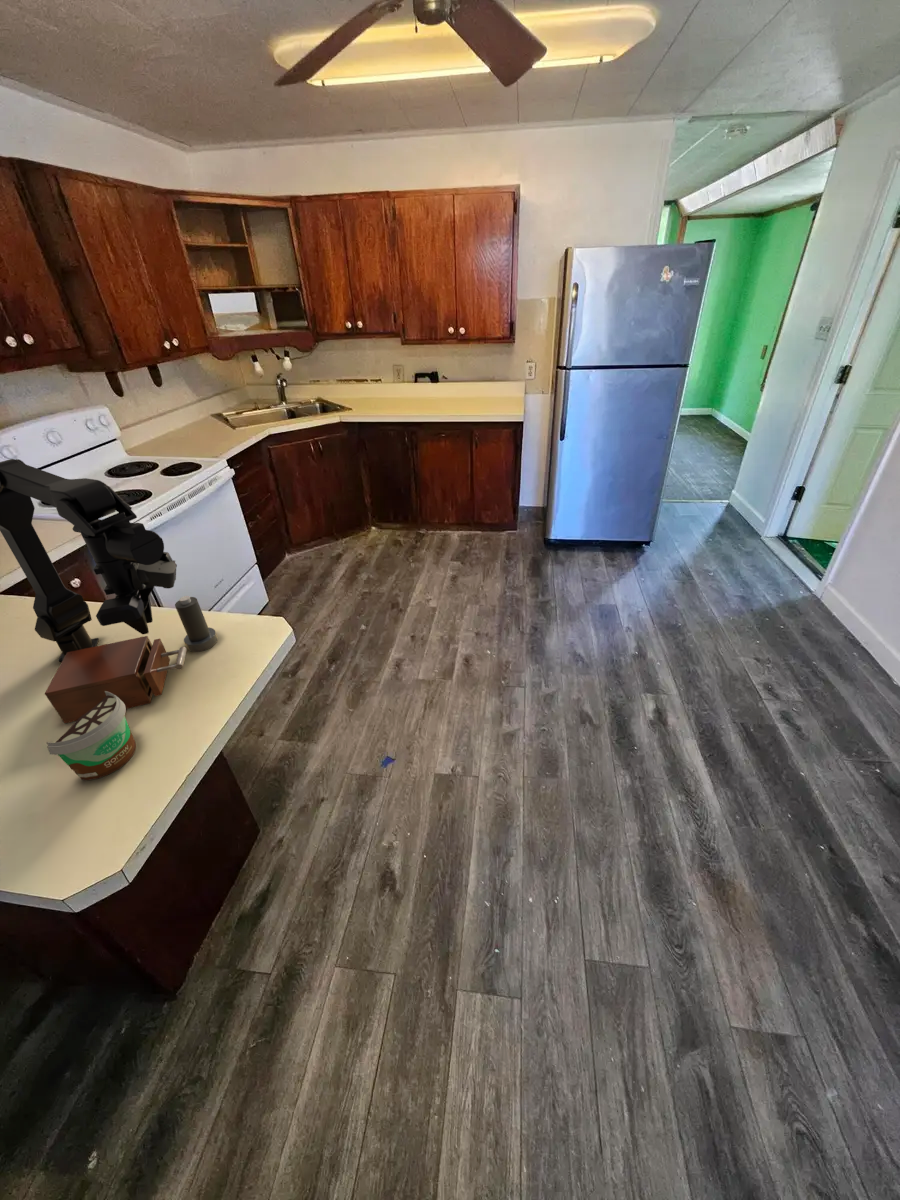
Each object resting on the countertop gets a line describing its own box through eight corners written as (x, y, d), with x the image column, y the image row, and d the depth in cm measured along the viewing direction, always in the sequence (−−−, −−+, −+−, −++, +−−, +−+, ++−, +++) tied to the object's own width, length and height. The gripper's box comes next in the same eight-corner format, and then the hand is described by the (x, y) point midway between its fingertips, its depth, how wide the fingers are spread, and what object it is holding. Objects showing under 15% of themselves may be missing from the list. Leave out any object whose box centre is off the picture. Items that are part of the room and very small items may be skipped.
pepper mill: (190, 632, 110) (174, 595, 104) (210, 628, 111) (196, 591, 105) (187, 643, 106) (171, 605, 101) (209, 639, 107) (194, 601, 102)
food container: (106, 792, 77) (77, 750, 71) (74, 787, 78) (43, 745, 72) (160, 733, 87) (137, 692, 81) (130, 729, 88) (107, 688, 83)
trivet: (188, 638, 111) (185, 631, 110) (219, 631, 113) (216, 624, 112) (185, 654, 106) (181, 647, 105) (217, 647, 108) (214, 640, 107)
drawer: (193, 654, 104) (184, 633, 101) (187, 688, 95) (177, 666, 92) (99, 675, 100) (86, 653, 97) (83, 713, 91) (68, 690, 88)
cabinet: (161, 663, 104) (147, 635, 100) (150, 703, 94) (134, 673, 90) (84, 680, 100) (66, 652, 96) (64, 723, 90) (44, 693, 86)
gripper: (154, 570, 78) (187, 646, 87) (171, 527, 93) (198, 595, 102) (76, 584, 76) (118, 661, 84) (107, 537, 91) (139, 606, 99)
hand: (147, 627), depth 92 cm, fingers open, 4 cm apart
